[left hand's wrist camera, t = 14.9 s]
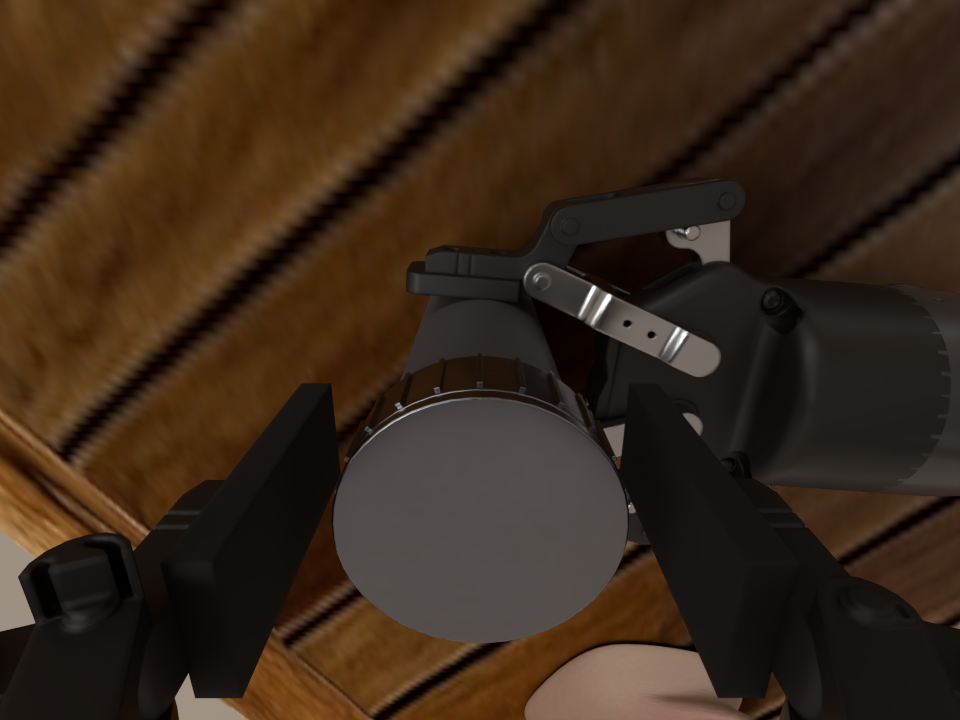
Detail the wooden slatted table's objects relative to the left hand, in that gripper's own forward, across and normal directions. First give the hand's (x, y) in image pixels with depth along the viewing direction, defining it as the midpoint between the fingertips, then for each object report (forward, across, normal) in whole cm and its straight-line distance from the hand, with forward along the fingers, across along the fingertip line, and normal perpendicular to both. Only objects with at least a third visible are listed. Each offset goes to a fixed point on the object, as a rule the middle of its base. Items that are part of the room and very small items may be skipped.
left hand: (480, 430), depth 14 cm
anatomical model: (+12, +10, -27) cm, 31 cm away
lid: (-4, 0, 0) cm, 4 cm away
